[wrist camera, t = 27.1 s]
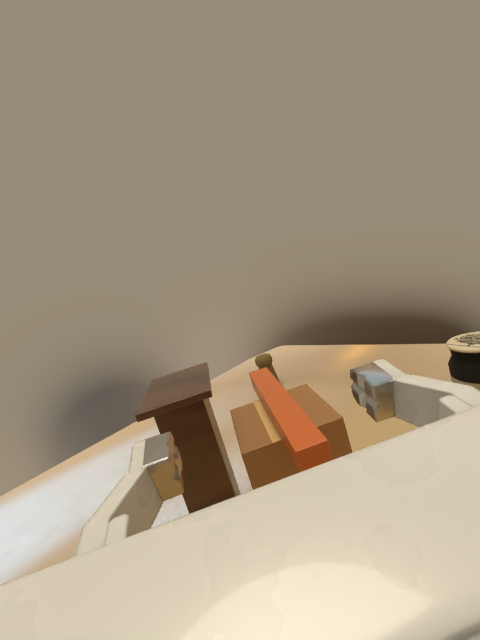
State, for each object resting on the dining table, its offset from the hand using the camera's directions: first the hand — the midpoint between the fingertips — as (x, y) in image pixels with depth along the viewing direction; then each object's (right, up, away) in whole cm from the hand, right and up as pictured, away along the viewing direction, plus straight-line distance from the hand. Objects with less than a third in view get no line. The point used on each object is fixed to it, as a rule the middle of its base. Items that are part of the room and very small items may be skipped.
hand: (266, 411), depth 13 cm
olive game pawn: (+9, -17, +82) cm, 85 cm away
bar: (+4, -8, +25) cm, 27 cm away
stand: (-1, -28, +28) cm, 40 cm away
